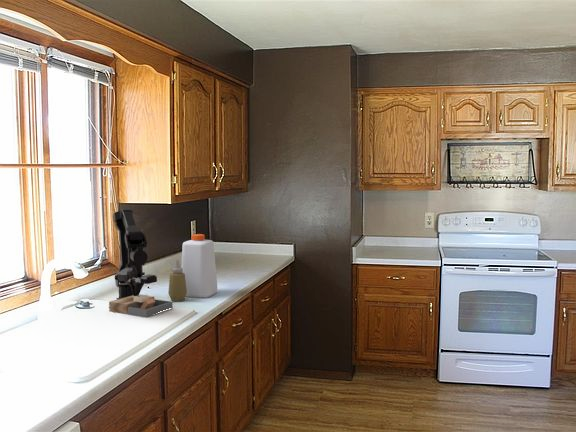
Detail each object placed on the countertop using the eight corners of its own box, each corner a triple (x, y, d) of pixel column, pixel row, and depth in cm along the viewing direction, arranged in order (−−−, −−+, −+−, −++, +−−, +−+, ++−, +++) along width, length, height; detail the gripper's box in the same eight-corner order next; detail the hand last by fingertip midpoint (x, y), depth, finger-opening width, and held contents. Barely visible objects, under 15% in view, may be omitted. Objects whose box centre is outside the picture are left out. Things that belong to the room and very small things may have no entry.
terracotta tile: (145, 300, 240) (148, 303, 239) (152, 298, 244) (155, 301, 243) (140, 307, 241) (142, 311, 241) (147, 305, 245) (150, 309, 245)
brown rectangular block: (109, 311, 242) (109, 301, 242) (136, 303, 256) (136, 294, 256) (127, 314, 237) (127, 304, 237) (154, 305, 251) (154, 296, 251)
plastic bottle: (207, 299, 264) (206, 237, 262) (176, 297, 268) (175, 236, 266) (220, 292, 278) (219, 233, 276) (191, 290, 283) (190, 232, 280)
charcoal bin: (127, 314, 237) (127, 307, 237) (154, 306, 251) (154, 299, 251) (146, 317, 232) (146, 309, 232) (172, 308, 246) (172, 301, 246)
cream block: (133, 301, 243) (133, 296, 243) (141, 299, 247) (141, 294, 246) (141, 302, 240) (141, 297, 240) (149, 300, 244) (149, 295, 244)
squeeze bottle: (178, 303, 256) (177, 262, 254) (164, 301, 260) (163, 260, 259) (190, 299, 263) (190, 259, 261) (177, 297, 267) (176, 258, 265)
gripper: (104, 261, 241) (105, 299, 242) (138, 265, 232) (139, 304, 233) (124, 258, 251) (124, 294, 252) (157, 261, 242) (158, 298, 243)
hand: (136, 297), depth 245 cm, fingers closed
